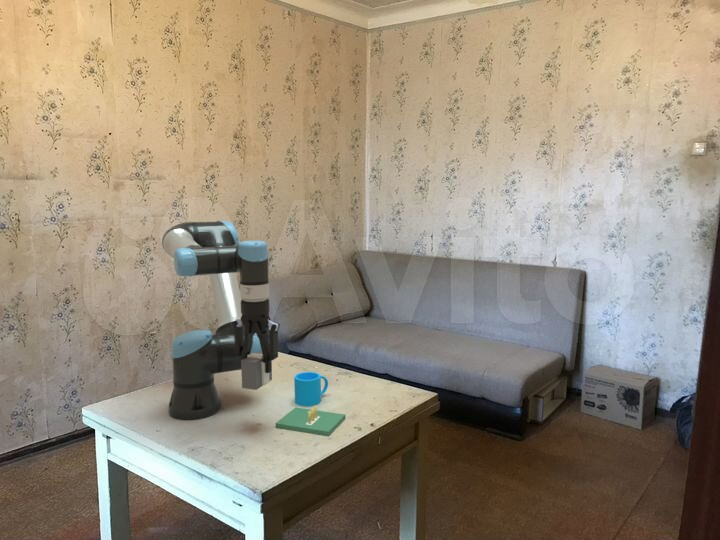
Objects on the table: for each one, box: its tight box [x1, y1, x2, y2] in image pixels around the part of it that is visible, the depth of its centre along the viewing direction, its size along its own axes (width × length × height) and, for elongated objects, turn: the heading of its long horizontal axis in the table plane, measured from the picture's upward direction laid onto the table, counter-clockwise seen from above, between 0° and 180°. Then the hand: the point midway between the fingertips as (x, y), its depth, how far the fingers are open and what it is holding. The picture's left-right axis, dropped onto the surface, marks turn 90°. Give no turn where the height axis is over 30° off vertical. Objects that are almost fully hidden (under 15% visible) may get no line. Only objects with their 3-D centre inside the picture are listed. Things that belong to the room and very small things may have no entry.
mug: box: [293, 371, 329, 407], centre depth 170 cm, size 12×8×8 cm
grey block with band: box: [241, 352, 273, 391], centre depth 148 cm, size 4×8×8 cm, turn 160°
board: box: [275, 405, 346, 437], centre depth 153 cm, size 16×12×5 cm
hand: (257, 382), depth 149 cm, fingers closed on grey block with band, 4 cm apart
